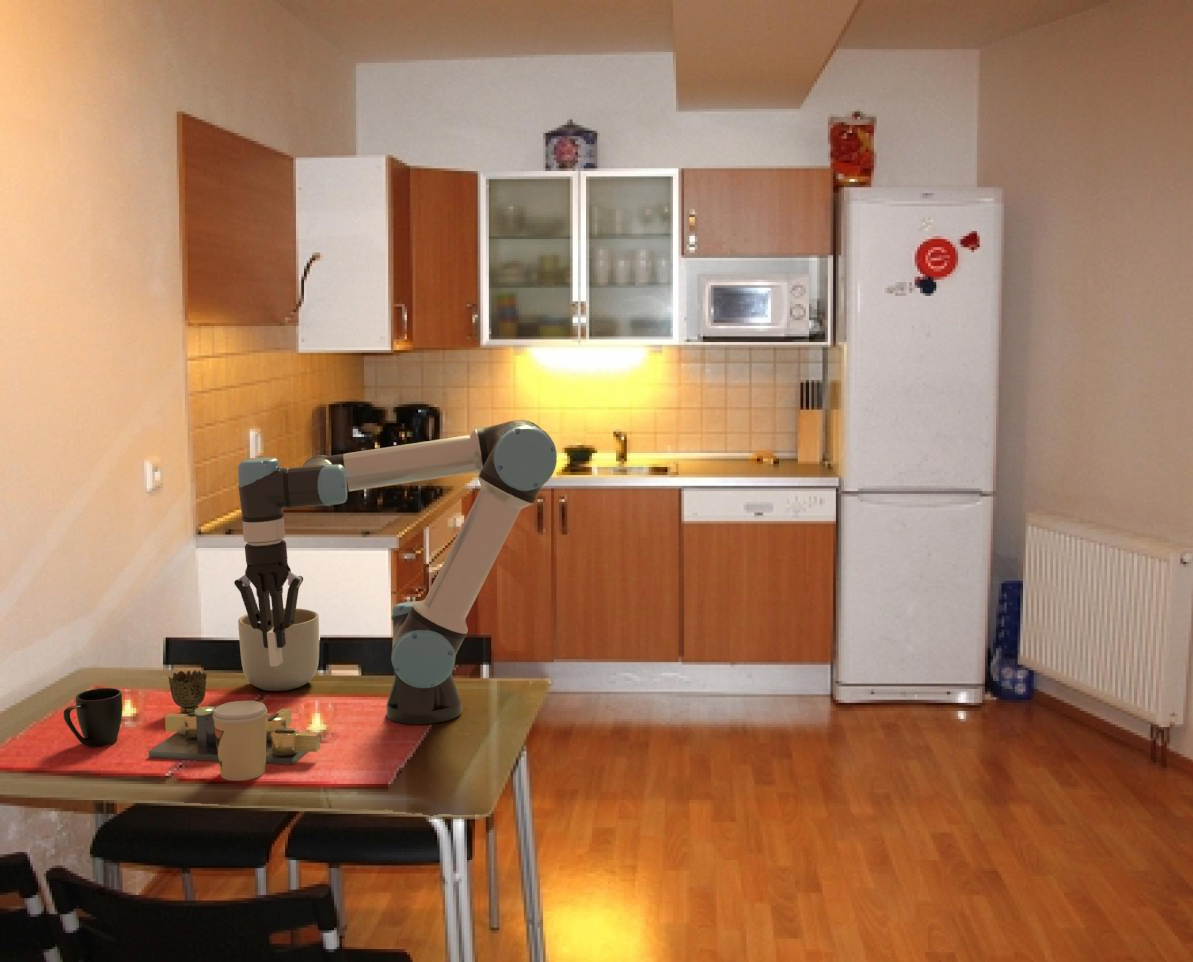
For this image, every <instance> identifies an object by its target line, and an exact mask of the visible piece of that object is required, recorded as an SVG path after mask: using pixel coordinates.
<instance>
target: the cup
mask: <svg viewBox="0 0 1193 962" xmlns="http://www.w3.org/2000/svg"><path fill="white" fill-rule="evenodd" d="M207 676H208V673H207V672H205V671H203V672H201V671H200V670H198V671H197V670H196V669H194V670H193V671H192V673H191V670H187V671H186V673H185V672H184V671H182V670H180V671H179V672H177V673H176V672H173V673H172V677H171V676H170V675H168V682H169V683H168V684H169V689H170V694H171V697H172V701H173V702H174V703H175V705H177V706H178V707H180V708H179V711H180V714H189V713H193V712H195V709H197V708H200V707H199V706H200V704H202V702H203V701H204V700H205V697H206V690H207Z"/></svg>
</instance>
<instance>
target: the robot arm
mask: <svg viewBox="0 0 1193 962" xmlns="http://www.w3.org/2000/svg"><path fill="white" fill-rule="evenodd" d="M557 456H558V454H557V449H556V445H555V443H554V441H553V438H552V437H551V436H550V435H549V434H548V433H547V432H546V430H543V429H542V428H541V426H539V425H537V424H536V423H534V422H532V421H530V420H526V419H513V420H510V421H506V422H501V423H499V424H493V425H490V426H487V427H486V426H485V427H480V428H479V427H477V428H474V429H473V431H472V432H471V433H470V434H467V435H460V436H456V437H454V436H453V437H449V438H448V437H447V438H442V439H433V440H429V441H428V440H427V441H420V442H415V443H414V442H413V443H407V444H401V445H394V446H387V447H381V448H380V447H379V448H375V449H373V448H372V449H367V450H360V451H355V452H354V451H353V452H347V453H342V454H334V455H323V454H321V455H316V456H312V457H310V458H309V459H306V461H305V462H304V463H303V465H302V466H296V467H281V465H280V462H279V459H278V458H276V457H257V458H256V457H255V458H254V457H253V458H249V459H245V460H243V461H240V463H239V464H238V468H237V471H238V472H237V473H238V475H237V477H238V495H239V502H240V511H241V520H242V521H241V523H242V532H243V533H242V535H243V542H245V543H246V544H245V545H244V553H245V562H246V567H245V568H246V569H245V571H244V574H243V576H241V577H239V578H238V579H236V580H234V582H233V583H234V586H235V587H236V588H237V590H238V591H239V593H240V594H241V598H242V601H243V604H244V607H245V610H246V613H247V614H248V617H249V620H250V623H251V626H252V628H253V629H259V630H261V631H262V634H263V644H264V647H265V648H268V651H269V661H270V666H279V665H280V664H281V663H283V656H282V647H284V646H285V644H286V641H285V629H286V628H288V627H290V626H291V625H293V624H294V619H295V612H296V609H297V604H298V599H299V596H298V595H299V590H300V587H301V584H302V583H303V581H304V577H303V576H302V575H299V576H297V575H296V574H294V573H293V572H291V571H292V570H291V567H290V566H289V564H288V549H287V542H286V541H285V540H284V539H285V538H286V530H285V529H286V528H285V519H284V518H285V517H284V509H292V508H306V507H308V508H309V507H319V506H321V507H322V506H323V507H325V506H326V507H331V506H334V505H341V504H344V503H346V502H347V500H348V492H349V493H350V492H353V491H360V490H367V489H375V488H382V487H387V486H388V487H389V486H393V485H401V484H407V483H408V484H409V483H414V482H421V481H429V480H434V479H435V480H436V479H441V478H448V477H454V476H455V477H456V476H461V475H467V474H475V473H476V474H477V475H478V476H477V478H478V481H479V484H480V485H479V486H480V490H479V492H478V494H477V496H476V498H475V500H474V502H473V504H472V506H471V508H470V509H469V512H468V513H467V516H466V517H465V520H464V522H463V523H462V526H461V527H460V529H459V531H458V533H457V536H456V537H455V540H454V542H453V543H452V546H451V547H450V550H449V551H448V553H447V555H446V557H445V559H444V561H443V562H442V565H441V567H440V568H439V570H438V573H437V575H436V577H435V578H434V580H433V583H432V584H431V587H430V589H429V590H428V593H427V595H426V597H425V598H424V599H423V600H419V601H418V600H417V601H407V602H406V601H405V602H400V603H397V604H394V606H392V609H391V610H392V612H391V613H392V614H391V617H390V618H391V621H392V648H391V654H390V660H391V661H390V662H391V664H392V667H393V669H394V670H393V673H394V676H393V681H392V685H391V688H390V691H389V695H388V698H387V702H386V717H387V718H388V719H389V720H391V721H393V722H395V723H398V724H399V723H400V724H404V725H405V724H406V725H433V724H439V723H443V722H447V721H450V720H454V719H456V718H458V717H460V715H461V714H462V712H463V707H462V705H463V703H462V698H461V695H460V693H459V690H458V687H457V684H456V682H455V681H456V680H455V679H454V677H453V670H454V668H455V663H456V659H457V658H456V655H457V654H458V651H459V650H460V648H461V645H462V644H463V641H464V640H465V638H466V636H467V634H468V631H469V629H468V626H467V623H466V618H467V616H468V615H469V613H470V611H471V609H472V606H473V605H474V603H475V601H476V599H477V597H478V595H479V593H480V592H481V589H482V587H483V585H484V583H485V581H486V579H487V578H488V576H489V573H490V571H491V570H492V567H493V566H494V564H495V562H496V560H497V558H498V556H499V554H500V552H501V551H502V548H503V546H504V544H505V542H506V540H507V538H508V536H509V534H510V533H511V531H512V528H513V526H514V525H515V522H516V520H517V518H518V516H519V514H520V513H521V511H522V509H524V508H527V507H530V506H533V505H534V503H535V501H536V498H537V497H538V496H539V494H540V491H541V489H542V487H543V486H544V485H545V484H546V483H548V481H549V480H550V479H551V478H552V476H553V474H554V473H555V470H556V466H557V463H558V462H557V461H558V460H557ZM286 581H287V585H288V586H289V587H288V589H287V593H286V594H287V595H286V600H285V614H284V601H283V598H284V597H283V593H284V585H285V583H286ZM251 585H252V586H254V588H255V590H256V591H255V592H256V596H257V599H258V603H257V600H256V597H255V595H254V592H253V588H252V587H251ZM270 599H271V600H270ZM271 609H272V612H273V623H274V625H272V619H271ZM273 626H274V629H272V630H271V628H272V627H273Z"/></svg>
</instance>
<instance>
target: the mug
mask: <svg viewBox="0 0 1193 962" xmlns="http://www.w3.org/2000/svg"><path fill="white" fill-rule="evenodd" d="M122 693H123V692H122V691H121V690H120V689H117V688H113V687H104V688H103V687H100V688H94V689H88V690H85V691H81V692H80V693H77V694H76V695H75V705H72V706H69V707H67V708H65V709H64V710H63V719H64V722H65V724H66V725H67V726H68V729H70V731H71V732H72V734H73V735H74V736H75V737H76V738H77V740H78V741H79V742H80V743H81V744H82V745H84V746H86V747H87V746H88V747H92V748H102V747H107V746H111V745H114V744H115V743H116V742H118V738H119V737H118V736H119V732H120V729H121V728H120V727H121V723H122V719H123V718H122V717H123V696H122V695H123V694H122ZM73 710H76V717H77V721H78V724H79V725H78V726H79V728H80V731H81V733H80V732H79V731H78V730H77V728H76V726H75V725H74V723H73V721H72V720H71V712H72V711H73ZM81 734H82V735H81Z"/></svg>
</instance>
